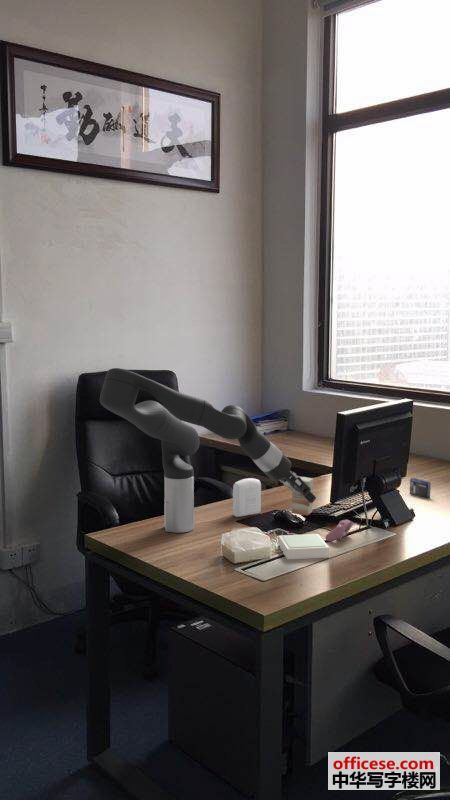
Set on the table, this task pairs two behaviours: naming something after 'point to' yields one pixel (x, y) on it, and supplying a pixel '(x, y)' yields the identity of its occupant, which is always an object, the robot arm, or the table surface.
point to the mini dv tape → (420, 487)
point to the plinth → (303, 546)
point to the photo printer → (246, 497)
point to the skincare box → (302, 499)
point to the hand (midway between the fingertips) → (307, 497)
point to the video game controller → (339, 530)
